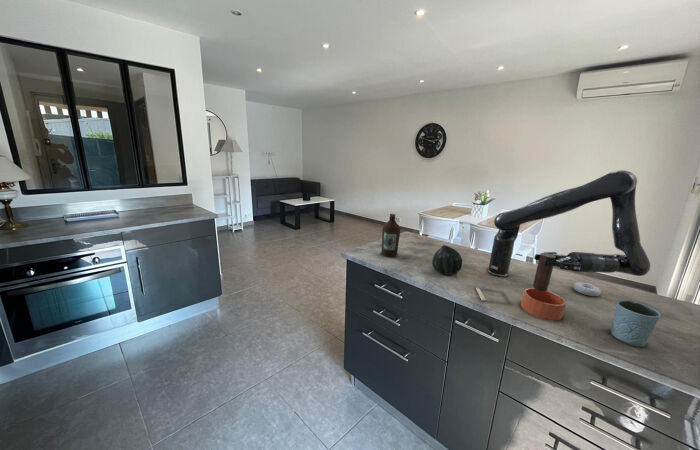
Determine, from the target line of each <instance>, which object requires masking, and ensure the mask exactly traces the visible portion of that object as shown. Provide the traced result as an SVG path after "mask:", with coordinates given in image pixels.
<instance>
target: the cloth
mask: <svg viewBox="0 0 700 450" xmlns="http://www.w3.org/2000/svg"><path fill="white" fill-rule="evenodd" d="M475 290H476V292H477V294H478V296H479V298H480V299H481V301H483V302H487V299H486V298H485V296H484V294H483V292H482V290H481V288H479V287H476V288H475Z"/></svg>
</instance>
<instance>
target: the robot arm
mask: <svg viewBox="0 0 700 450" xmlns="http://www.w3.org/2000/svg"><path fill="white" fill-rule="evenodd" d="M637 184H638V178H637V176H636V175H635V174H634V173H633V172H631V171H629V170H625V169H624V170H623V169H621V170H614V171H613V170H612V171H611V172H608V173H606V174H604V175H602V176H600V177H598V178H596V179H594V180H591V181H589V182H587V183H585V184H582V185H578V186H576V187H571V188H568V189H565V190H560V191H558V192H554V193H552V194H549V195H547V196H544V197H541V198H539V199H536V200H534V201H532V202H530V203H528V204H526V205H523V206H521V207H519V208H516V209H512V210H508V211H502V212H500V213H499V214H497V215H496V216H495V218H494V221H493V224H494V227H495V228H496V229H498V231H497V232H496V233H495V235H494V237H493V242H492V248H491V252H490V259H489V263H488V264H489V265H488V267H487V273H488V274H489V275H492V276H495V277H500V278H505V277H509V270H510V265H511V261H512V256H513V251H514V248H515V247H514V246H515V242H516V240H517V238H518V235H519V231H520V228H521V225H523V224H526V223H529V222H534V221H535V222H536V221H540V220H544V219H545V220H546V219H549V218H552V217H556V216H559V215H562V214H565V213H569V212H571V211H573V210H576V209H579V208H581V207H583V206H585V205H587V204H589V203H593V202H597V201H600V200H604V199H610V202H611V210H612V213H611V215H612V216H611V233H612V239H613V244H614V248H616V249H617V250H619V251H621V252H623V253H624V254H619V253H617V254H614V253H613V254H605V253H596V252H595V253H594V252H586V251H585V252H583V251H571V252H569V253H568V254H559V253H558V252H556V251H544V252H543V253H548V254H552V255H554V256H556V258H555V260H547V259H545V260H544V263H543V264H544V265H545V266H553V267H554V268H559V270H565V271H571V272H575V273H591V274H592V273H593V274H594V273H602V274H603V273H604V274H612V273H620V274H621V273H622V274H627V275H632V276H637V277H642V276H645V275H647V274H648V273H649V272H650V270H651V261H650V259H649V257H648V255H647V253H646V251H645V249H644V247H643V245H642V243H641V235H640V228H639V223H638V217H637V211H636V192H637V191H636V190H637ZM540 254H541V253H540ZM540 254H539V253H536V254H534V258H533V259H534V260H535V261H539V258H540Z"/></svg>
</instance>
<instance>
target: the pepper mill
mask: <svg viewBox="0 0 700 450" xmlns="http://www.w3.org/2000/svg"><path fill="white" fill-rule="evenodd" d="M555 258H556V256H554V255H552V254H548V253H544V252H540V258H539V260H538V263H537V267H536V271H535V275H534V279H533V283H532V288H535V289H537V290H539V291H549V285H550V282H551V277H552V274H553V269H554V266H545V265H544V264H543V263H544V260H545V259H547V260H555Z"/></svg>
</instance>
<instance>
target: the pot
mask: <svg viewBox="0 0 700 450" xmlns="http://www.w3.org/2000/svg"><path fill="white" fill-rule="evenodd" d="M520 306H521V308H522V309H523V310H524V311H525V312H527V313H529V314H530V315H532V316H535V317H537V318H541V319H544V320H548V321H549V320H550V321H559V320H562V319H563V318H564V314H565V310H566V306H567V300H566V299H565V298H563V297H562V296H561V295H559V294H557V293H556V292H555V293H554V292H553V291H550V290H547V291H539V290H537V289H535V288H533V287H527V288H525V289H524V290H523V293H522V297H521V301H520Z"/></svg>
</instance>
